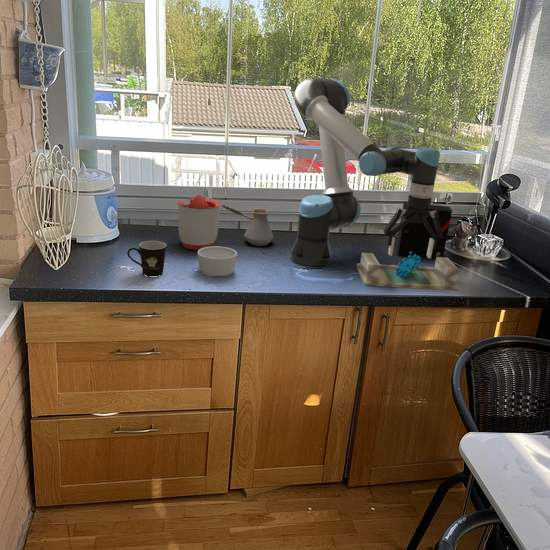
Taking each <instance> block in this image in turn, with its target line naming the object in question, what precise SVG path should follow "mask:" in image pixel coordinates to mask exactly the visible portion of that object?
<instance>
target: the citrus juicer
mask: <svg viewBox="0 0 550 550" xmlns="http://www.w3.org/2000/svg"><path fill="white" fill-rule="evenodd" d="M177 205H178V208H177V214H178V218H177V219H178V220H177V226H178V227H177V228H178V229H177V230H178V235H179V238H180V243H181V244H182V246H183V247H184V248H186V249H188V250H195V251H197V250H200V249H202V248H205V247H211V246H215V243H216V240H217V237H218V233H219V226H220V206H221V203H220V202H219V201H218V200H215V199H212V198H206V197H203V196H202V195H201V194H197V195H196V196H195V197H190V198H189V203H187V204H184V202H183V201H182V200H178V201H177Z"/></svg>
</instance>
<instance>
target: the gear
mask: <svg viewBox="0 0 550 550" xmlns="http://www.w3.org/2000/svg"><path fill="white" fill-rule="evenodd" d="M402 261H403V262H402ZM421 264H422V258H420V256H417V255H416V254H414V256H413V257H412V255H409V256H408V257H403V258H402V259H401V261H399V262H398V263H397V265H398V266H401V267H400V268H398V267H396V269H395V270H396V271H397V272H396V275H397V276H398V275H399V276H400V277H403V275H404V276H405V277H408V274H409V273H410V274H411V275H412V277H415V278H416V279H417V281H419V278H418V277H417V273H416V272H415V270H414V267H415V269H416V270H417V269H418V268H419V267H420V266H419V265H421Z"/></svg>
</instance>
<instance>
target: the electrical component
mask: <svg viewBox="0 0 550 550" xmlns="http://www.w3.org/2000/svg"><path fill="white" fill-rule="evenodd" d="M407 203H408V201H407V202H406V201H404V202H403V205H402V209H404V210H405V209H406V208H407ZM434 210H436V211H437V212H438V213H439V215H438V220H439V223H440V227H441V230H442V233H443V239H439V240H438V241H437V243H436V248H435V249H433V250H432V255H431V259H433V260H436V257H444V253H445V249H446V243H447V238H448V233H449V228H450V224H451V223H452V221H451V218H452V215H453V214H452V213H453V209H452V208H451V207H450V206H448V205H446V206H445V205H437V204H431V206H430V211H434ZM405 216H406V214H405V213H404V214H403V215H402V216H400V222H401V221H402V220H403V218H404V217H405ZM427 221H428V223H429V225H430V226H431V228H432V229H433V231H434V232H435V234H436V235H437V231H436V228H435V224H434V221H433V218H432V217H431V215H430V216H429V217H428V218H427ZM430 238H433V237H432V236H431V234H430V233H429V231H428V229H427V228H426V226H425V225H424V223H421V224H418V223H411V222H410V223H408V224H406V225H405V226H404V227H403V228H402V229H401V230H400V231H399V232H398V236H397V242H396V249H395V251H396V255H397V257H403V258H408V256H409V255H412V257H413V256H414V254H416V255H417V256H420V258H421V259H429V258H428V257H427V256H426V255H427V250H428V245H429V240H430Z"/></svg>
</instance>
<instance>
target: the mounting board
mask: <svg viewBox="0 0 550 550" xmlns="http://www.w3.org/2000/svg"><path fill="white" fill-rule="evenodd" d="M434 262H435V263H434V267H433V266H419V268H418V269H417V270H416V269H415V267H414V270H415V272H416V273H417V277H418V278H419V281H417V279H416V278H415V277H412V275H411V274H410V273H409V274H408V277H405V276H404V275H403V277H400V276H399V275H398V276H397V275H396V272H397V271H396V270H395V269H396V267H398V268H400V267H401V266H398V264H397V265H395V264H380V262H379V261H378V259H377V256H375V255H374V253H372V252H361V256H360V262H359V263H358V262H357V263H356V268H355V269H356V271H357V273H358V275H359V277H360V279H361V281H362V282H363V285H364V286H365V285H369V286H368V287H384V286H392V287H391V288H403V287H407V288H406V289H421V290H422V289H424V290H427V289H428V290H443V291H444V290H445V291H446V290H447V291H458V289H459V286H458V285H457V282H458V277H459V272H460V271H459V270H460V269H459V268H458V267H457V265H455V264H454V262H453V261H452V260H451V259H449V258H448V257H444V256H443V257H436V259H435V261H434Z"/></svg>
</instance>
